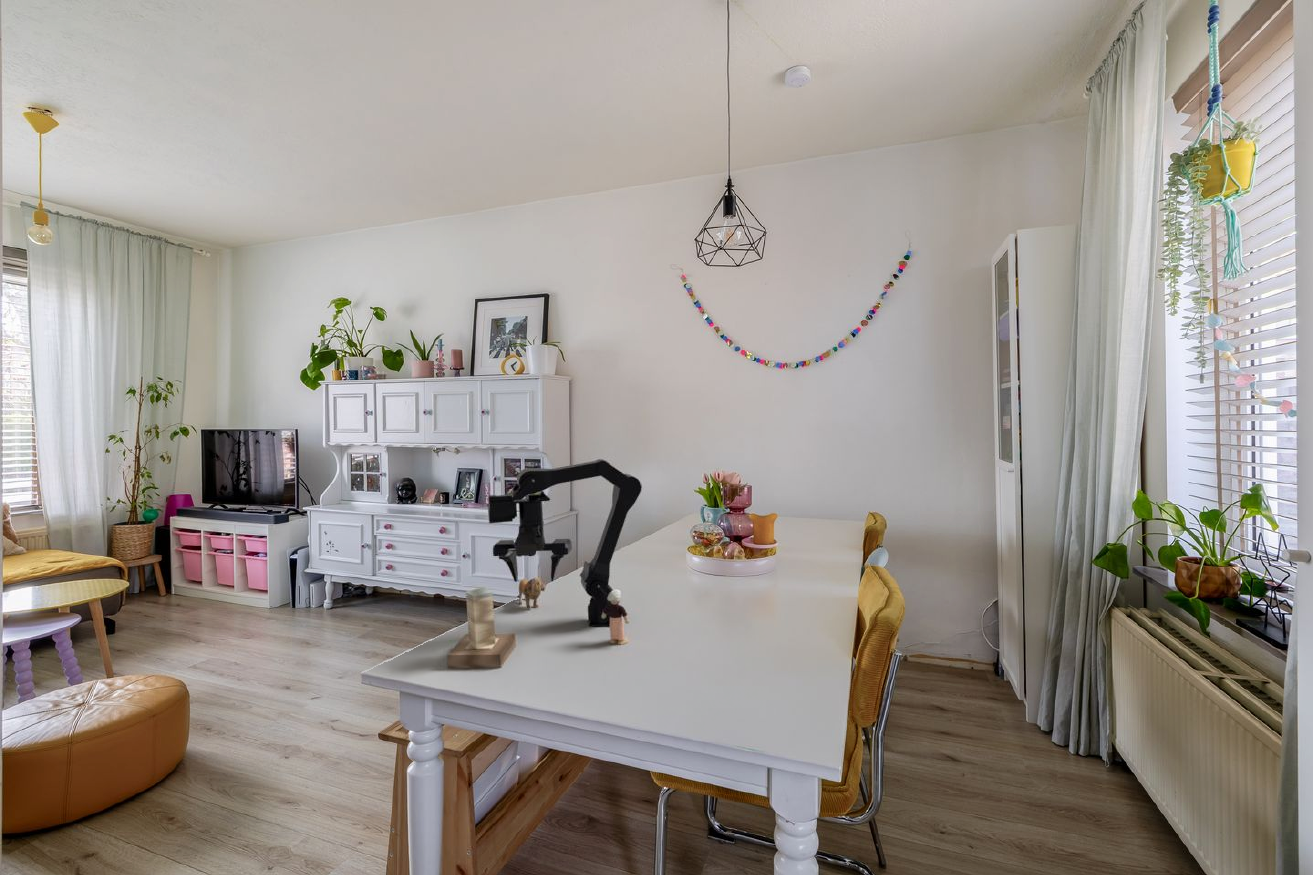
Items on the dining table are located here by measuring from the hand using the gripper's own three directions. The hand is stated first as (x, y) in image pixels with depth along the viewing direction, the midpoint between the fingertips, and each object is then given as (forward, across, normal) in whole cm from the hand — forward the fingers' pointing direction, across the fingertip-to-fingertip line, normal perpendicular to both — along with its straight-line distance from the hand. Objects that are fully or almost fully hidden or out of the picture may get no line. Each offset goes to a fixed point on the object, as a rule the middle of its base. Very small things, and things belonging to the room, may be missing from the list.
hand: (534, 581), depth 165 cm
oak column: (+10, -9, -15) cm, 20 cm away
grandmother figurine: (+13, +21, -7) cm, 26 cm away
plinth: (+13, -9, -15) cm, 22 cm away
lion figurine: (+13, -7, +20) cm, 25 cm away
